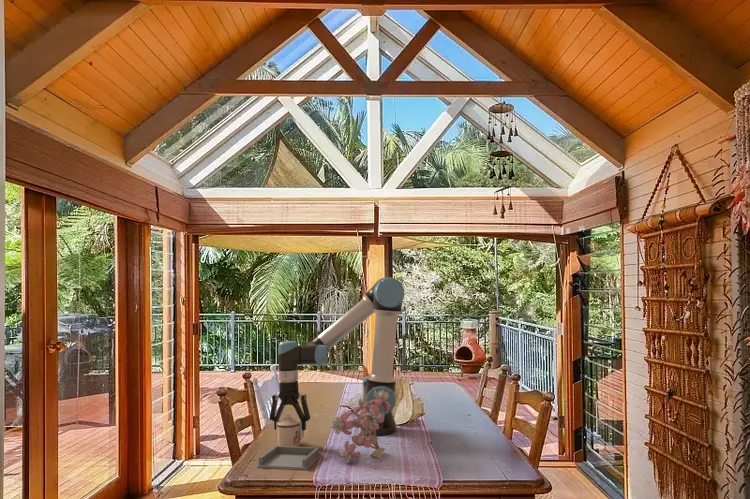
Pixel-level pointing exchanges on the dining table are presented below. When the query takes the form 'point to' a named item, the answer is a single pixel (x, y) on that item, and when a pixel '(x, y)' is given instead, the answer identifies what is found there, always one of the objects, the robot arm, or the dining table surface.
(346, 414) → the flower
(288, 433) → the teacup with lid
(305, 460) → the grey shallow square tray
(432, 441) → the dining table surface
